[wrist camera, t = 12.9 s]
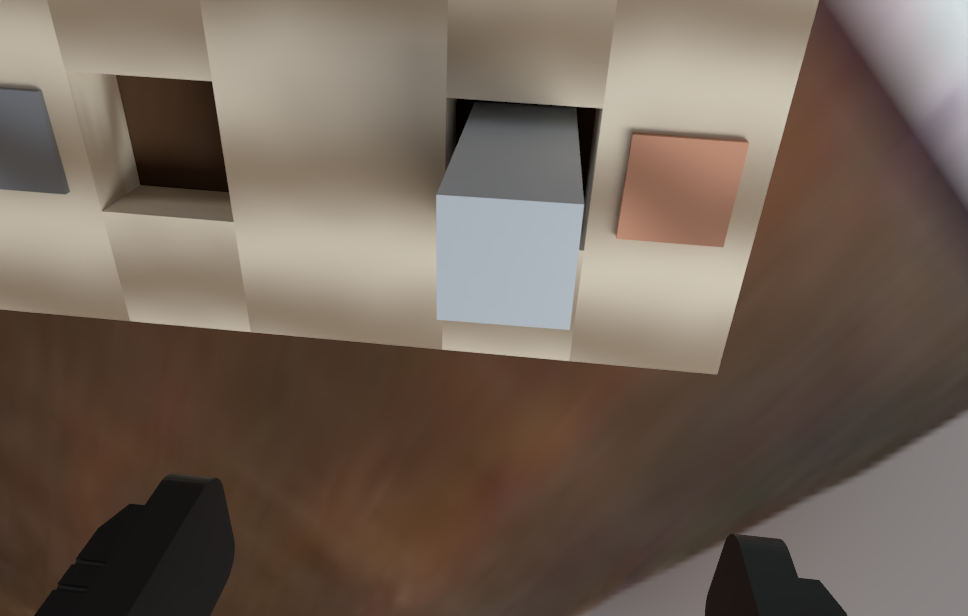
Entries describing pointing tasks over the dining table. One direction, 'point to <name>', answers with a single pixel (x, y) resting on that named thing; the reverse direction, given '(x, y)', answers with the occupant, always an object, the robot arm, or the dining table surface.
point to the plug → (511, 218)
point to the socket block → (391, 163)
